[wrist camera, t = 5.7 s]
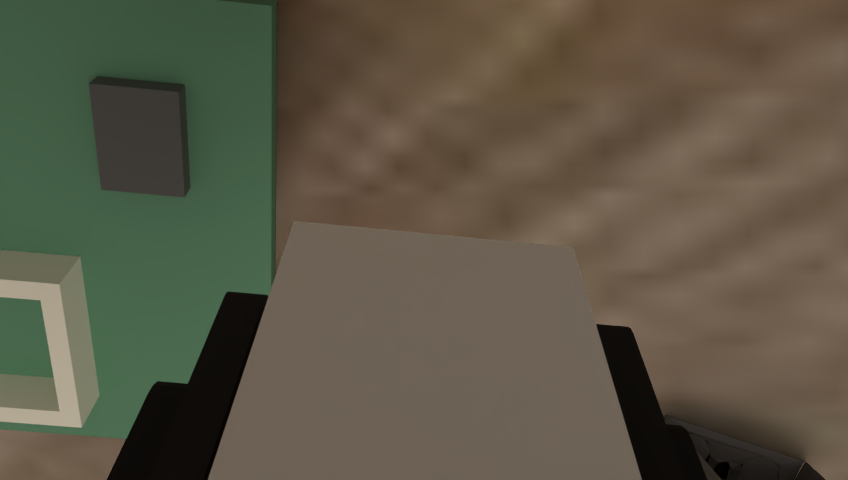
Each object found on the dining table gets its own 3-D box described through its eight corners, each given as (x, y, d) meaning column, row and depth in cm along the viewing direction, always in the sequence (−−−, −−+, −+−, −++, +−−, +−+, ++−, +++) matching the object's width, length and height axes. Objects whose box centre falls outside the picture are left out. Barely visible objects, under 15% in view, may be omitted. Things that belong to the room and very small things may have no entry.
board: (-207, -51, 26) (-288, -31, 23) (276, -1, 27) (258, 24, 24) (-76, 407, 36) (-121, 462, 33) (274, 434, 37) (260, 490, 34)
